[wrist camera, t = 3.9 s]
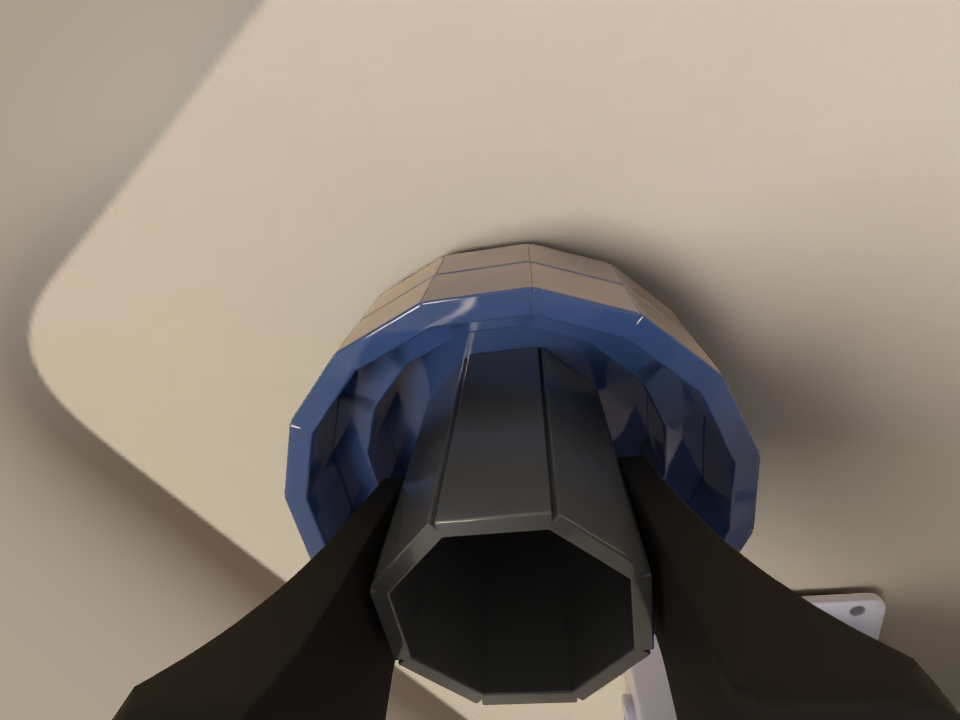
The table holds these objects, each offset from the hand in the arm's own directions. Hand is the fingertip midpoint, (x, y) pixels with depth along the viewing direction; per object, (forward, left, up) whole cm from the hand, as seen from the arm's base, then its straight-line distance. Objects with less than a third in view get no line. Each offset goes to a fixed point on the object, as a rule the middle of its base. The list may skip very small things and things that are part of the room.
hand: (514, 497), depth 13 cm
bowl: (0, 0, -4) cm, 4 cm away
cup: (0, 0, -3) cm, 3 cm away
